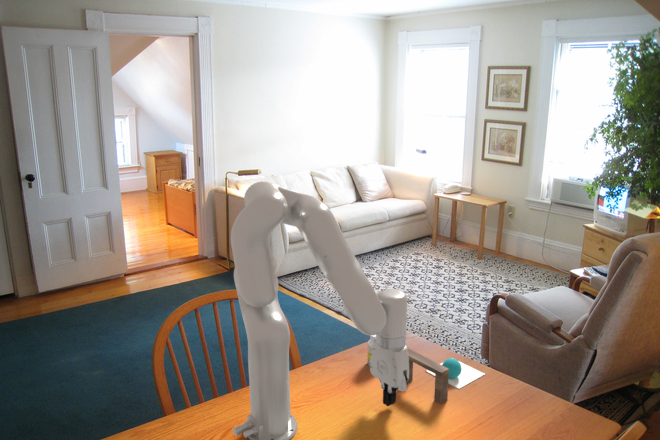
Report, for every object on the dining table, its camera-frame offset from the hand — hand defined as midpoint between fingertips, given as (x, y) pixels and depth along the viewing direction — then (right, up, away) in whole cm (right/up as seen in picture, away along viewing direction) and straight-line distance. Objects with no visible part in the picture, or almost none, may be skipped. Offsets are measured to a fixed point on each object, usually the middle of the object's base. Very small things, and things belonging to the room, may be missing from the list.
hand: (389, 402), depth 136 cm
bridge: (+10, +1, +8) cm, 13 cm away
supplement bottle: (-1, +4, +22) cm, 22 cm away
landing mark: (+21, +3, +17) cm, 27 cm away
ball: (+19, +5, +14) cm, 24 cm away
